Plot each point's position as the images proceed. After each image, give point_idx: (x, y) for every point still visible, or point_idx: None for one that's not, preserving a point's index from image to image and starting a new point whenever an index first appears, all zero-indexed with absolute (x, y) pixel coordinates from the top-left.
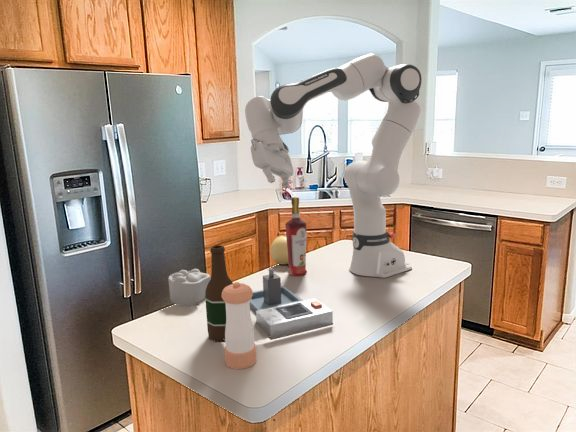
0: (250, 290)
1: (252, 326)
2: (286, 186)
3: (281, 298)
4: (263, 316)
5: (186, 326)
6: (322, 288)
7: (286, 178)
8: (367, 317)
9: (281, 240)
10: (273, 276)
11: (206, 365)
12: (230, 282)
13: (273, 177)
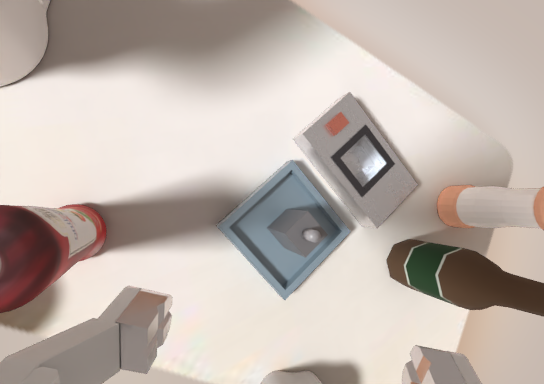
0: None
1: (496, 187)
2: (171, 302)
3: (263, 216)
4: (393, 206)
5: (390, 337)
6: (166, 145)
7: (60, 368)
8: (296, 41)
9: None
10: (308, 228)
11: (470, 244)
12: (482, 262)
13: (456, 372)
